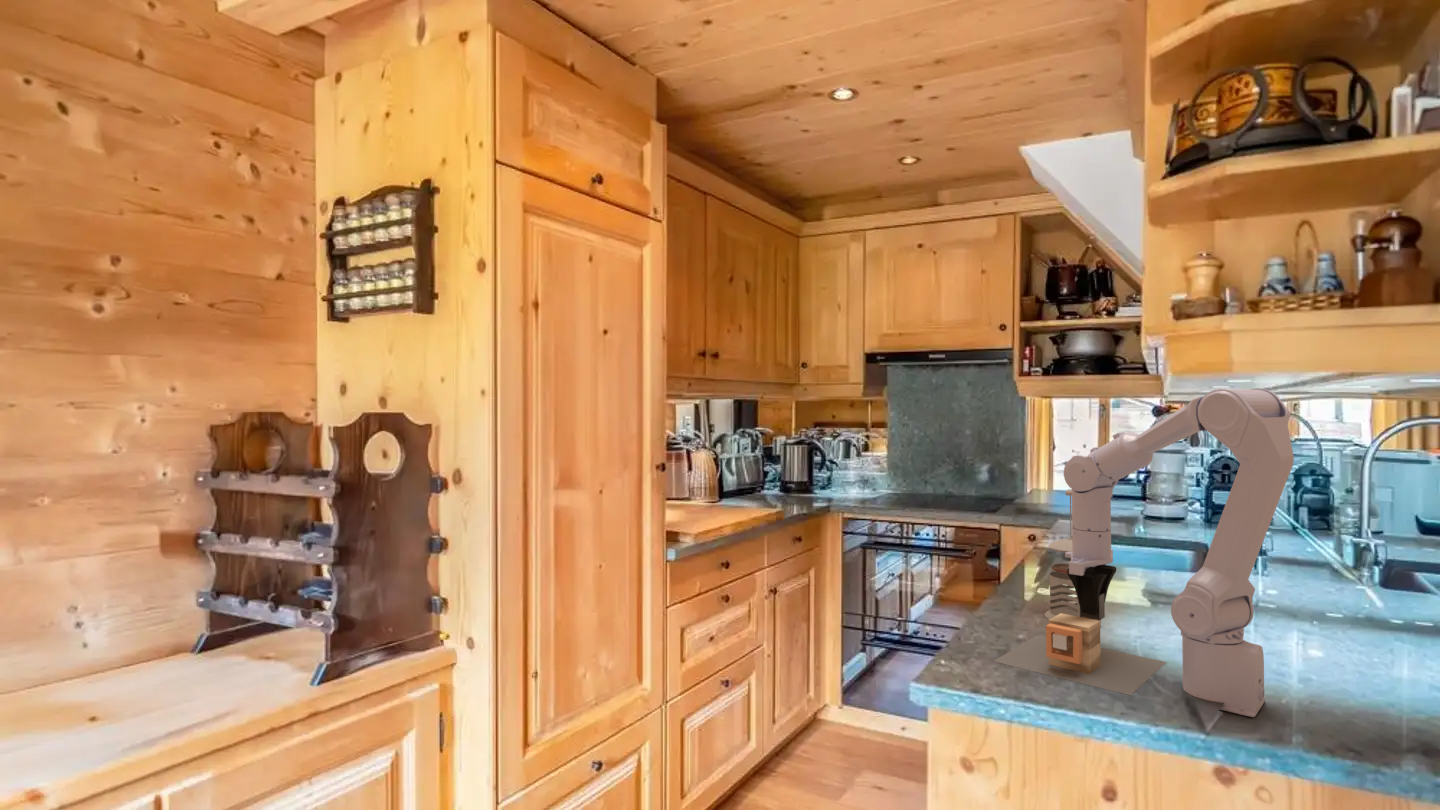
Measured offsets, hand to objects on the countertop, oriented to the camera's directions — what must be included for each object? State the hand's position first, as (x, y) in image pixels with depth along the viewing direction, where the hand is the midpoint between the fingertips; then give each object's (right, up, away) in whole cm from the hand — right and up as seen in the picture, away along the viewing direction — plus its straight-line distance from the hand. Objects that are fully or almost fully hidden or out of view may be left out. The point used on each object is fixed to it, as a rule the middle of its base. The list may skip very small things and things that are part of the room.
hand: (1092, 611), depth 122 cm
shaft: (-5, -3, -4) cm, 7 cm away
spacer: (-9, -5, -9) cm, 13 cm away
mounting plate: (-4, -8, -4) cm, 10 cm away
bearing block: (-6, -7, -6) cm, 10 cm away
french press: (+8, -8, +22) cm, 25 cm away
